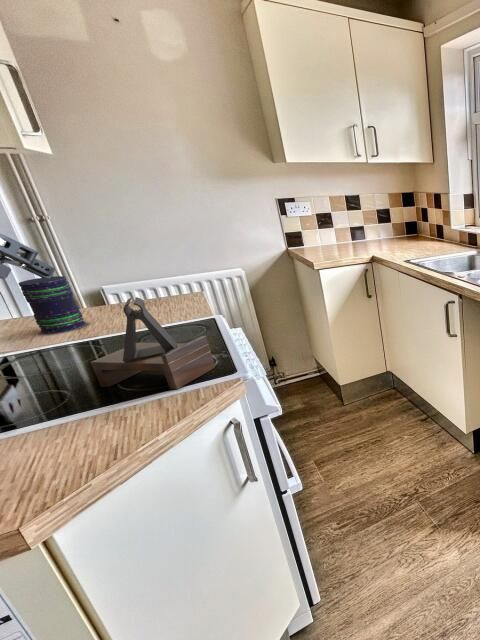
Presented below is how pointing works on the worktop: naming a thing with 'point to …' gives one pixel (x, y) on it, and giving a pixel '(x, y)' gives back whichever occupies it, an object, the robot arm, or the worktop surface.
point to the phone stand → (153, 326)
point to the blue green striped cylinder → (52, 304)
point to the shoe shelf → (158, 364)
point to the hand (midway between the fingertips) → (28, 274)
